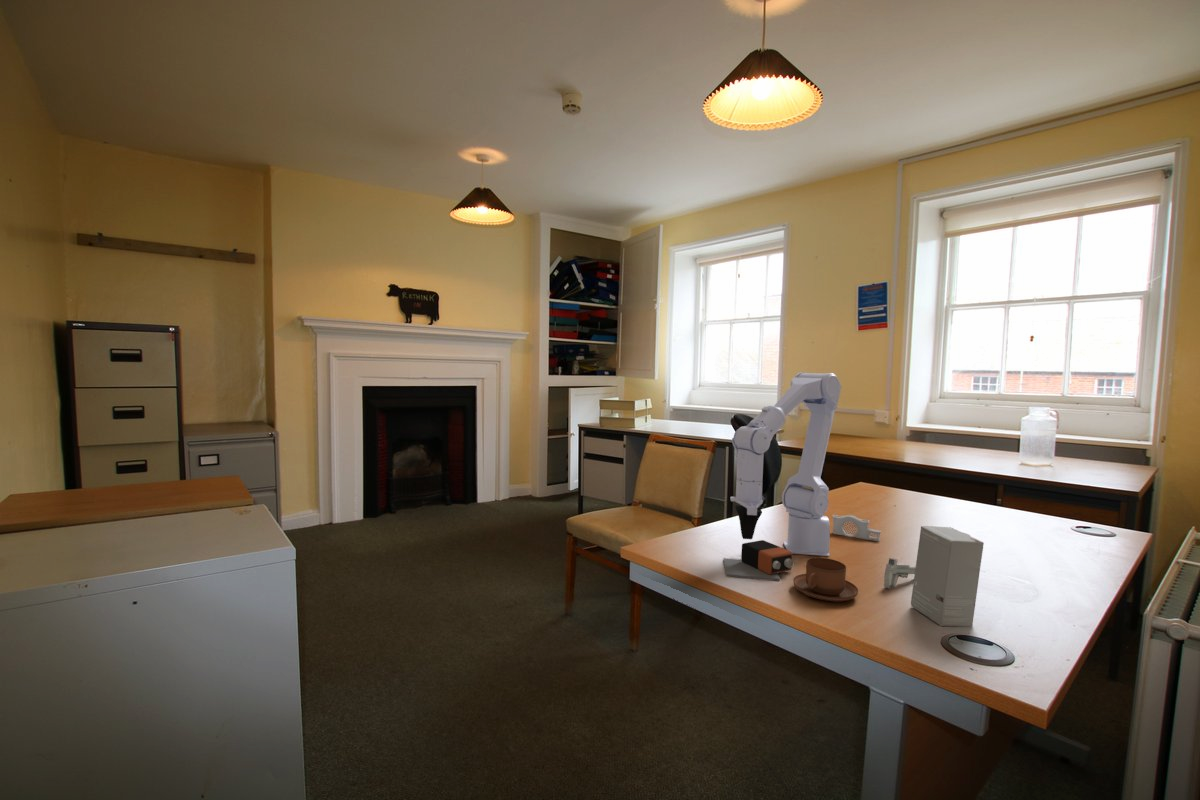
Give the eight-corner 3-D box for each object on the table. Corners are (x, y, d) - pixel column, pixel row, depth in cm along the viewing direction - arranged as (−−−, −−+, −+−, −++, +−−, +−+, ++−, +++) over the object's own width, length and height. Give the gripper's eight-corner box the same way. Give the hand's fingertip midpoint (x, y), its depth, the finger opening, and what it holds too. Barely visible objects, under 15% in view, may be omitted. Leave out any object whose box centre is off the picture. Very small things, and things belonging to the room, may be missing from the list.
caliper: (888, 591, 110) (890, 560, 110) (883, 589, 111) (885, 559, 111) (941, 573, 121) (943, 545, 121) (936, 571, 122) (938, 544, 122)
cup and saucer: (853, 613, 100) (854, 580, 99) (786, 597, 106) (787, 566, 106) (861, 591, 110) (862, 561, 110) (799, 577, 116) (801, 549, 116)
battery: (762, 557, 126) (795, 572, 118) (740, 561, 123) (772, 577, 114) (763, 539, 126) (796, 552, 117) (740, 542, 123) (773, 557, 114)
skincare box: (909, 606, 103) (914, 524, 102) (945, 606, 103) (950, 524, 102) (941, 628, 94) (946, 539, 93) (979, 627, 95) (985, 538, 94)
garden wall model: (880, 540, 143) (881, 519, 143) (879, 542, 142) (881, 520, 141) (832, 532, 150) (833, 511, 150) (831, 534, 148) (832, 512, 148)
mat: (772, 564, 124) (772, 561, 124) (779, 580, 114) (780, 578, 114) (723, 560, 125) (723, 558, 125) (726, 576, 116) (726, 574, 116)
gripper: (728, 472, 130) (726, 527, 131) (734, 485, 116) (731, 547, 117) (759, 474, 129) (756, 529, 130) (768, 487, 115) (765, 549, 116)
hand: (747, 538), depth 123 cm, fingers closed
